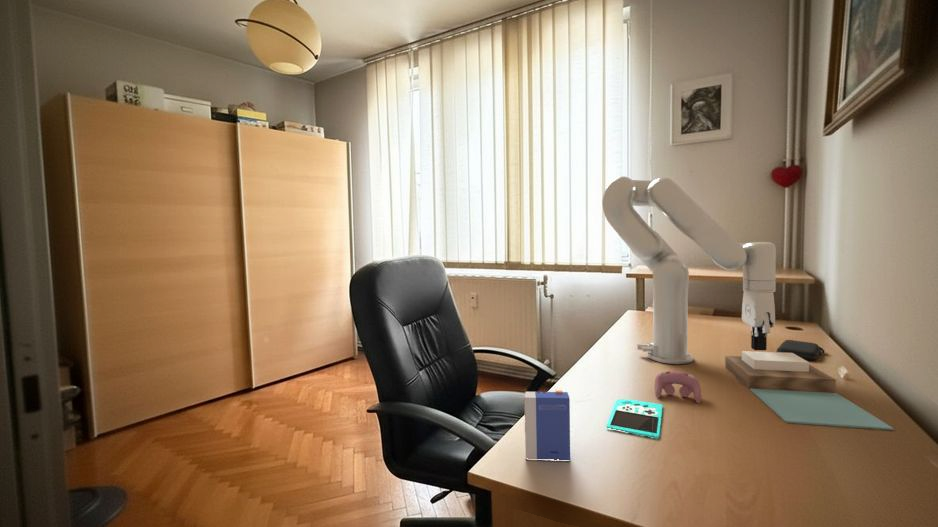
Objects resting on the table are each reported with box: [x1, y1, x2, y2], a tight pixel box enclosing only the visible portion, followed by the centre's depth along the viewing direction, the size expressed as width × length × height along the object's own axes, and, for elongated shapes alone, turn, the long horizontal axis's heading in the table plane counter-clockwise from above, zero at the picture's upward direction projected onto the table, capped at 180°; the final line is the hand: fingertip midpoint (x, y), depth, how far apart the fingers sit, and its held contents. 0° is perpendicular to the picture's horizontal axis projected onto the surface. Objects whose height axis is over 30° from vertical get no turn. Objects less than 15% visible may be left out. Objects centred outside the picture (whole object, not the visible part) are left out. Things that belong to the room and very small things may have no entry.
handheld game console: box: [606, 398, 664, 439], centre depth 88 cm, size 10×16×1 cm, turn 152°
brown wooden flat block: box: [724, 355, 837, 393], centre depth 107 cm, size 18×16×4 cm
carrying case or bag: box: [776, 339, 825, 362], centre depth 127 cm, size 11×3×15 cm
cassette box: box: [741, 350, 810, 372], centre depth 107 cm, size 12×8×2 cm, turn 76°
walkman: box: [523, 389, 571, 461], centre depth 73 cm, size 8×3×12 cm, turn 84°
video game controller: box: [654, 370, 702, 404], centre depth 98 cm, size 10×5×7 cm, turn 65°
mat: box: [749, 388, 895, 431], centre depth 90 cm, size 18×18×1 cm
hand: (758, 349), depth 117 cm, fingers closed
